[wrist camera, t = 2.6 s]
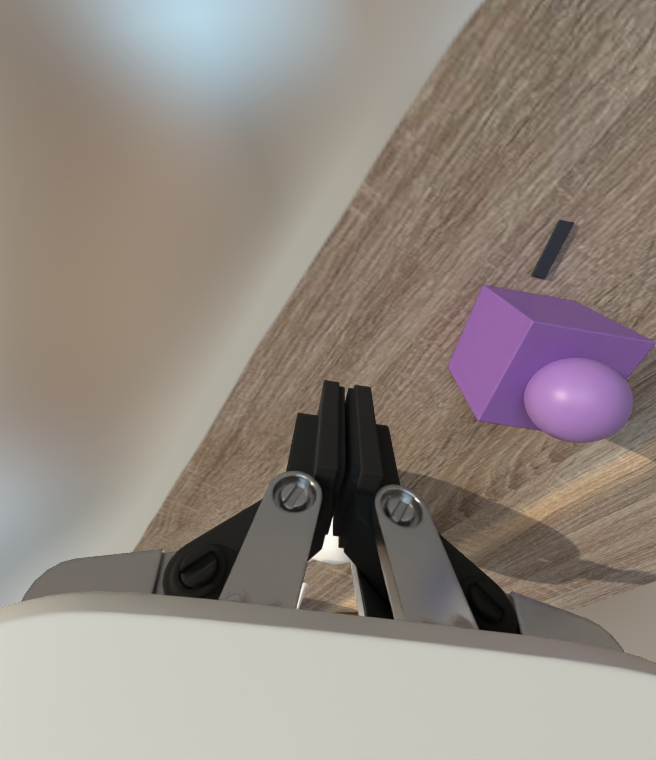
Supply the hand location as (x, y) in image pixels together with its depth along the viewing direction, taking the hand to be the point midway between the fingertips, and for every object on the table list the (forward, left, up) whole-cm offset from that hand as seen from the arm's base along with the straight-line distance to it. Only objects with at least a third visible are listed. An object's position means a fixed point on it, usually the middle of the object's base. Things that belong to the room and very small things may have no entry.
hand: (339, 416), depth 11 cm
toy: (0, +11, -11) cm, 15 cm away
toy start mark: (-6, +11, -11) cm, 17 cm away
